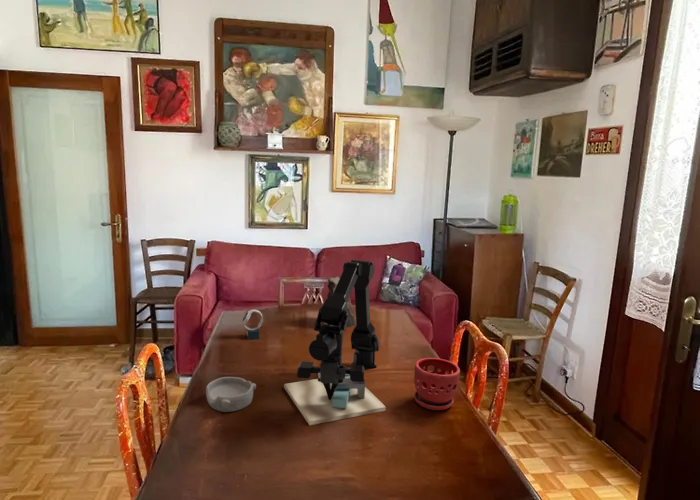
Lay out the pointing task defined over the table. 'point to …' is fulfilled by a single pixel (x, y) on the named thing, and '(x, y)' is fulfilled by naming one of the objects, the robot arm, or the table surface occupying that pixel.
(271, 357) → the table surface
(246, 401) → the dish
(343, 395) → the link
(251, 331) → the watch
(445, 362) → the plant pot
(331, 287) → the grey tall stone
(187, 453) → the table surface
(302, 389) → the base board
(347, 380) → the pintle and keeper
